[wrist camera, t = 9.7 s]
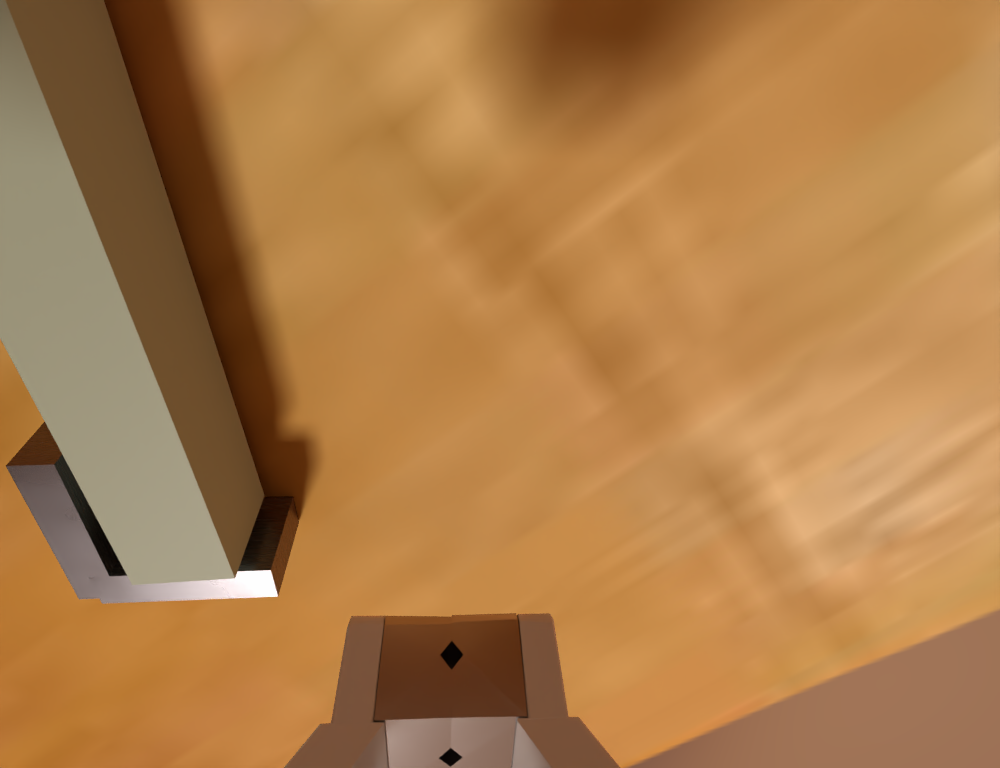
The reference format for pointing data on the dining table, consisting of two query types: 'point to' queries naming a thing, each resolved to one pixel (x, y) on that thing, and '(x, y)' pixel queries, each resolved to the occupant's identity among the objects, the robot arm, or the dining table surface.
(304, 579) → the dining table surface
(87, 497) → the hinged leg
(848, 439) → the dining table surface
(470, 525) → the dining table surface
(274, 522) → the leg socket
